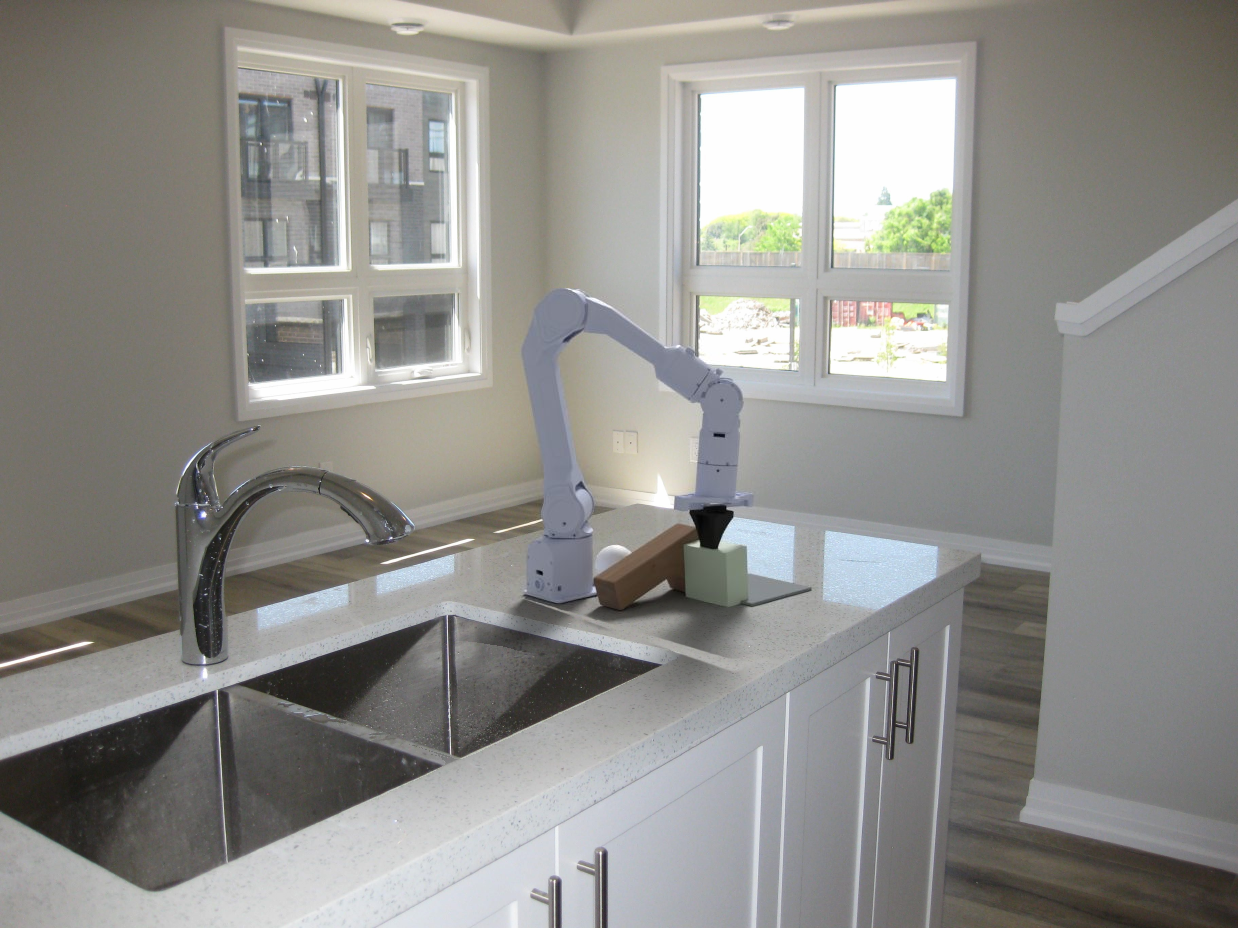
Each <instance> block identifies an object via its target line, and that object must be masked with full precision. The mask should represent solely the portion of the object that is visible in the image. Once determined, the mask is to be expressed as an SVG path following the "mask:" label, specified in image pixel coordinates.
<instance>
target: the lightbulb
mask: <svg viewBox="0 0 1238 928" xmlns="http://www.w3.org/2000/svg"><path fill="white" fill-rule="evenodd" d="M631 553H632V552H631V551H630V550H629V549H628V548H627V547H625V546H622V545H619V544H612V545H609V546H605V547H604V548H603V549H601V550H600V551H599V552H598V554H597V556H596V557H595V562H594V563H595V564H594V570H595V572H596V576H597V575H598V574H600V573H602V572H603V571H605V570H606V569H608V568H609V567H611V566H612V565H614V564H615V563H617V562H618V561H620V560H621V559H623V558H625V557H626V556H628V555H629V554H631Z"/></svg>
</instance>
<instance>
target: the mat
mask: <svg viewBox="0 0 1238 928" xmlns="http://www.w3.org/2000/svg"><path fill="white" fill-rule="evenodd" d="M812 589H813V587H812V586H809V585H803V584H798V583H795V582H790V581H785V580H781V579H776V578H771V577H768V576H762V575H759V574H753V573H749V572H748V599H746V600H742V601H741V603H740V604H741V605H744V606H748V607H754V606H757V605H761V604H765V603H768V602H773V601H776V600H779V599H783V598H788V597H790V596H795V595H799V594H802V593H805V592H809V591H812ZM740 604H739V605H740Z"/></svg>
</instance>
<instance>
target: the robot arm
mask: <svg viewBox="0 0 1238 928" xmlns="http://www.w3.org/2000/svg"><path fill="white" fill-rule="evenodd" d="M582 332H583V333H589V334H596V335H597V334H598V335H606V336H608V337H610V338H611V339H613V341H614V340H615V342H617V343H619V344H620V345H622V346H623V347H625V348H627V349H628V350H630V352H633V354H635V355H638V356H639V357H641V358H642V359H644V360H645V361H647V363H650V364H651V365H653V368H654V373H655V377H656V379H657V381H658V380H659V382H661V383H663V384H664V385H665V386H667V387H668V388H670V389H671V390H672V391H674V392H675V393H677V394H678V395H680V396H681V397H682V398H684V399H686V400H687V401H689V402H690V403H692V404H695V403H699V404H700V407H701V410H702V411H703V413H702V418H701V419H702V421H701V422H702V424H701V428H700V430H699V437H698V450H697V462H696V463H697V465H696V477H695V492H690V493H686V494H685V493H684V494H681V495H674V501H673V509H674V510H676V511H681V512H688V513H689V516H690V518H691V520H692V522H693V524H694V527H696V530H697V533H698V537H699V542H700V547H705V548H709V549H717V548H718V546H719V543H720V541H722V538H723V535H724V533H725V531H726V530H727V528H728V526H729V524H730V523H731V522H732V520H733V519H734V517H735V516H734V515H735V514H734V513H735V511H734V510H730V509H727V508H737V507H738V508H739V507H747V508H751V507H753V506H754V495H755V493H751V492H746V491H737V477H738V468H739V466H738V465H739V453H740V441H741V432H740V431H739V429H740V428H741V418H740V413H741V412H742V410H743V407H744V403H745V402H744V401H743V400H744V397H743V392H742V390H741V388H740V386H739V385H738V383H736V382H735V381H734V380H733V378H730V377H723V376H722V375H723V373H724V371H723V370H722V369H720V368H719V367H716V369H715V368H713V367H712V366H711V365H709V364H708V363H707V362H705V361H703V359H701V358H699V357H698V356H696V355H695V354H696V350H695V349H694V348H692V347H691V346H687V347H686V348H685V347H683V346H682V345H680V344H676V345H671V346H666V345H664V344H663V343H662V342H661V341H659V340H658V339H656V338H655V337H653V336H652V334H650V333H648V332H647V331H645V329H643V328H641V326H639V325H638V324H636V323H635V322H634V321H632V320H631V319H630V318H628V317H627V316H626V315H624V314H623V313H621V312H620V311H619V310H617V309H616V308H614V307H613V306H611V305H610V304H607V303H605V302H604V301H601V299H598V298H595V297H591V296H590V295H589V294H588V293H587V292H586V291H584V290H582V289H578V288H568V287H567V288H566V287H558V288H555V289H552V290H551V291H549V292H547V294H546V295H544V297H543V298H541V300H540V301H539V302H538V303H537V305H536V306H535V307H534V308H533V313H532V319H531V321H530V324H529V326H528V329H527V332H526V335H525V338H524V340H523V343H522V345H521V349H520V350H521V351H520V352H521V358H522V360H521V361H522V364H523V369H524V370H523V371H524V375H525V380H526V385H527V389H528V390H527V391H528V395H529V400H530V405H531V410H532V411H531V412H532V416H533V421H534V426H535V427H534V428H535V431H536V436H537V442H538V447H539V452H540V457H541V463H542V467H543V482H542V493H543V504H542V506H541V511H540V515H541V516H540V517H541V520H542V523H543V525H544V526H545V528H544V529H543V534H542V535H541V536H540V537H539V538H537V539H534V540H532V541H531V542H530V543H529V545H528V547H527V550H526V589H524V590H522V593H523V594H524V595H527V596H530V597H534V598H537V599H540V600H544V601H548V602H551V603H555V604H562V603H566V602H571V601H576V600H579V599H583V598H589V597H593V596H597V592H596V588H595V585H594V581H593V578H594V529H593V528H592V527H591V525H590V523H589V522H588V520H589V519H590V518H591V517H592V516H593V513H594V511H595V505H596V503H595V499H594V496H593V494H592V492H591V491H590V489H589V488H588V487H587V485H586V483H585V479H584V474H583V472H582V470H581V467H580V466H579V464H578V461H577V459H578V458H577V454H576V449H575V444H574V440H573V439H574V438H573V433H572V432H573V431H572V428H571V423H570V417H569V411H568V407H567V402H566V398H565V397H566V396H565V392H564V387H563V386H564V385H563V380H562V375H561V371H560V364H559V359H558V358H559V356H560V355H561V354H562V352H563V351H564V349H565V348H566V347H567V345H568V344H569V343H570V342H571V340H572V339H574V338H575V337H577V335H579V334H580V333H582Z"/></svg>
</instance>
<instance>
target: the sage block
mask: <svg viewBox="0 0 1238 928" xmlns="http://www.w3.org/2000/svg"><path fill="white" fill-rule="evenodd" d="M747 547H748V546H747V545H743V544H737V543H734V542H733V543H732V542H728V541H723V540H721V541H720V543H719V546H718V548H717V549H709V548H705V547H700V542H699V540H696V541H693V542H690V543H687V544H684V566H685V588H686V592H685V597H686V598H688V599H689V598H690V599H693V600H697V601H702V602H705V603H709V604H713V605H718V606H721V607H725V608H731V607H735V606H737V605H740V603H741V601H742V600H746V599H748V574H749V572H748V548H747Z"/></svg>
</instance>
